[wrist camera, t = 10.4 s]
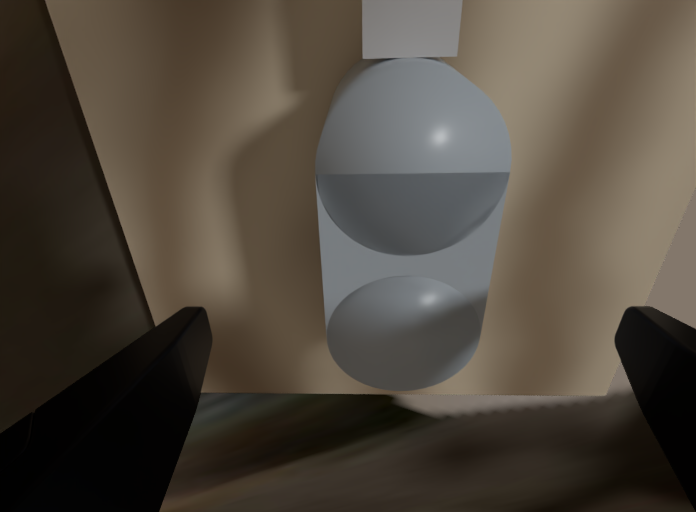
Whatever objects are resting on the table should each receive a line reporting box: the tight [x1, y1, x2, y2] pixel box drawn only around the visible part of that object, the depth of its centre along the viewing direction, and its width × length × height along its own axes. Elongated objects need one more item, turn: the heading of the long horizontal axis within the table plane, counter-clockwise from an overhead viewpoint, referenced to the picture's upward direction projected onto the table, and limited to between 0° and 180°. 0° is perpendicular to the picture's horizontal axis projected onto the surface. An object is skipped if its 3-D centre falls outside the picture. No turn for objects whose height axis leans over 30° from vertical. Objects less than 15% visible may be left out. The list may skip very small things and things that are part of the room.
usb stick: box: [315, 0, 512, 391], centre depth 12 cm, size 12×4×4 cm, turn 1°
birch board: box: [45, 0, 696, 396], centre depth 15 cm, size 20×20×1 cm
